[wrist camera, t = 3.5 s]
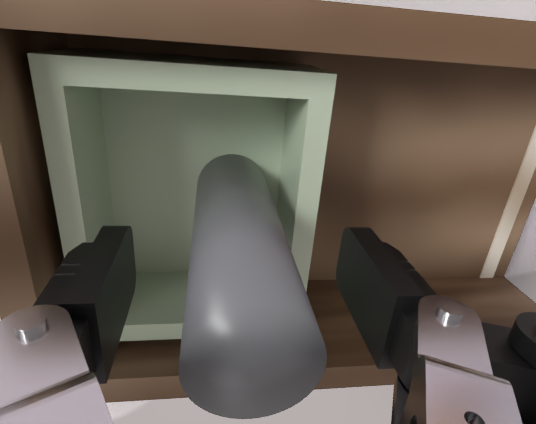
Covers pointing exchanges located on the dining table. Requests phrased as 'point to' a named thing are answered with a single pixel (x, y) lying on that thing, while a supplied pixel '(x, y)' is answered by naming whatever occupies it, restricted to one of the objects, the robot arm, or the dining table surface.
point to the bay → (337, 154)
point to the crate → (199, 206)
